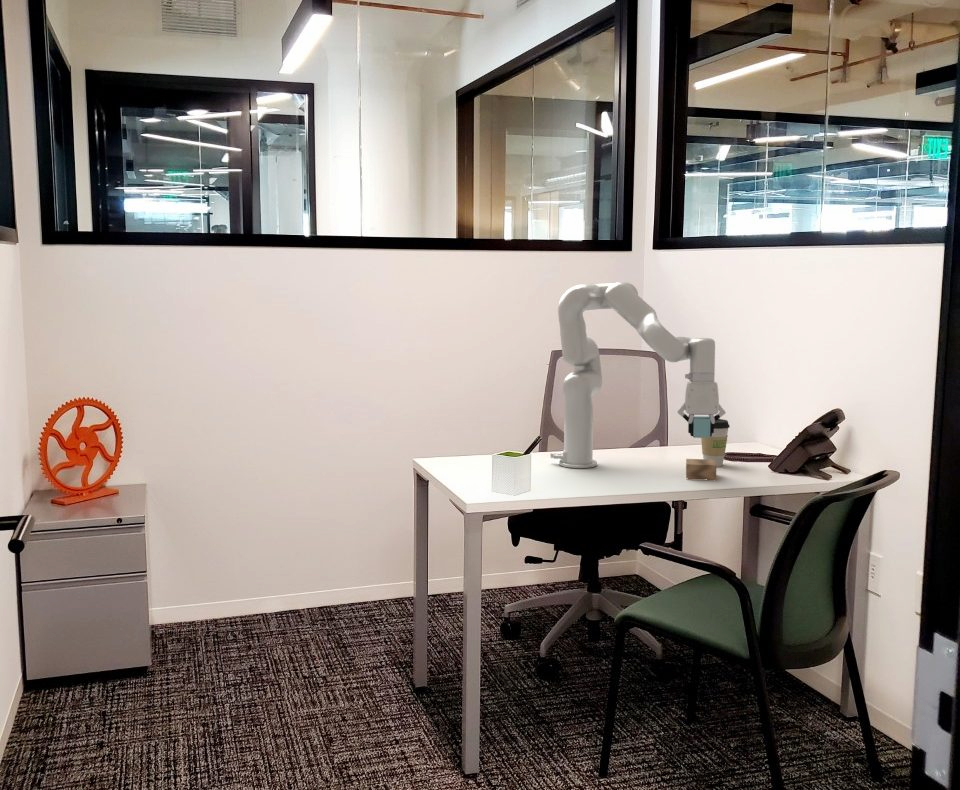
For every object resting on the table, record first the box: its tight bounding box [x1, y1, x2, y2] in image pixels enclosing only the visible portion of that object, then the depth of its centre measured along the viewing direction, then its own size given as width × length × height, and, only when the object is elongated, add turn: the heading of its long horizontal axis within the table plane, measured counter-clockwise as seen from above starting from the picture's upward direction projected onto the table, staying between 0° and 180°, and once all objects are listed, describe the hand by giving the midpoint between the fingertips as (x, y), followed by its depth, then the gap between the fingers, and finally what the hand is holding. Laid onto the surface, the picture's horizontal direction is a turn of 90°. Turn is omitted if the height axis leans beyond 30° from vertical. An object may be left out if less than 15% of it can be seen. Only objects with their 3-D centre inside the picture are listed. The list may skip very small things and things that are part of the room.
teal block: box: [692, 415, 710, 439], centre depth 290 cm, size 5×5×6 cm
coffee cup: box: [700, 418, 730, 468], centre depth 309 cm, size 10×10×15 cm
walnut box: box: [685, 458, 718, 481], centre depth 291 cm, size 9×9×5 cm
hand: (700, 434), depth 290 cm, fingers closed on teal block, 5 cm apart
